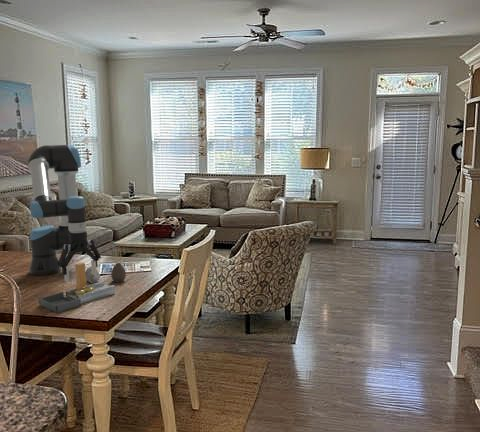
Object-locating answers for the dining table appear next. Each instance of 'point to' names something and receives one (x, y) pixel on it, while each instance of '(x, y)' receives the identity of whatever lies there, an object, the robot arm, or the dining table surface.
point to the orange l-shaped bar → (80, 275)
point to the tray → (59, 302)
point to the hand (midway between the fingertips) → (81, 278)
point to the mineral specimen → (91, 276)
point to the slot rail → (92, 292)
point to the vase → (118, 273)
